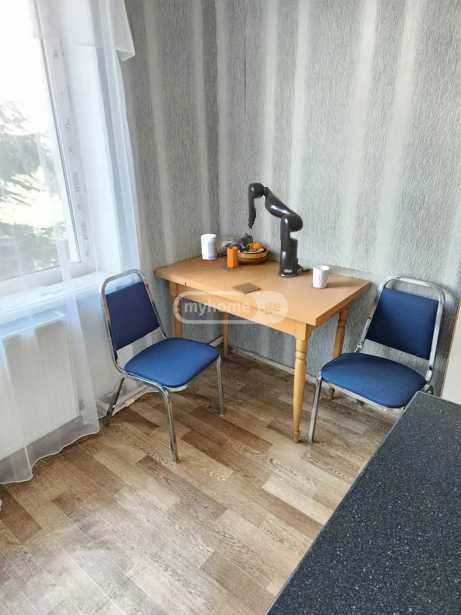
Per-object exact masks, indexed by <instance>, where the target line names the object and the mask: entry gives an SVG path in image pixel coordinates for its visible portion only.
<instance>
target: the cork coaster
mask: <svg viewBox="0 0 461 615" xmlns="http://www.w3.org/2000/svg"><path fill="white" fill-rule="evenodd" d="M232 288H233V289H235V290H237V291H238V292H241V293H243V294H248V293H253V292H256V291H259V290H261V288H260V287H259V286H256V285H255V284H252V283H250V282H247V283H243V284H238V285H235V286H232Z"/></svg>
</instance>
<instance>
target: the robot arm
mask: <svg viewBox="0 0 461 615" xmlns="http://www.w3.org/2000/svg"><path fill="white" fill-rule="evenodd" d="M263 195H264V196H265V199H264V208H265V210H266V211H267V212H268V213H269V214H270V215H271V216H273V217H275V218H277V219H280V222H279V239H280V240H279V241H280V249H279V250H280V251H279V252H280V253H279V271H278V275H279V276H281V277H284V278H293V277H295V276H297V275H298V271H300V272H302V273H305V272H309V271H311V268H308V269H305V270H304V268H303V266H301V264H299V257H298V250H299V248H298V247H299V240H298V239H297V238H296V237H292V236H291V233H297V232H300V231H301V230H303V227H304V221H303V218H302V216H300V215H299V214H298V213H297V212H296V211H293V210H292V209H291V208H290V207H289V206H287V205H286V204H285V203H284V201H282V200H281V199H280V198H279V197H278V196H277V195H276V194H274V192H272V190H271V189H270V188H269V186H268V187H264V186H263V185H262V184H261V183H258V182H251V183H249V184H248V186H247V207H248V208H247V210H248V216H249V217H247V227H248V226H249V228H251V229H252V226H253V224H254V221H255V218H256V210H257V208H256V205H255V200H256V199H262V198H261V197H262V196H263ZM248 222H249V223H248ZM244 234H245V235H244ZM244 234H243V236H241V237H240V238H238V239H237V240H236V241H235V243H231V242H229V243H227V244H225V247H224V248H225V252H227V248H228V247H232V246H233V247H237V248H238V250H240V251H239V254H242V253H244V252H247V253H248V252H250V250H251V245H252V244H254V243H253V238H252V236H250V235H248V234H247V233H245V232H244ZM251 243H252V244H251ZM248 244H251V245H248ZM247 245H248V246H247Z"/></svg>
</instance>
